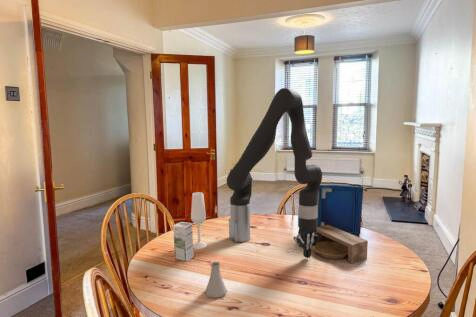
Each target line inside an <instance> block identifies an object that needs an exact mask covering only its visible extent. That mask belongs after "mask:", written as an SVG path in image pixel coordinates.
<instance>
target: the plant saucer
mask: <svg viewBox="0 0 476 317" xmlns="http://www.w3.org/2000/svg"><path fill="white" fill-rule="evenodd" d="M312 249H314V251H315V252H316V254H318V255H319V256H321V257H322V258H326V259H328V260H330V259H331V260H339V259H343V258H345V257H346V256H348V246H345V245H343V244H341V243H338V242H333V241H322V242H318V243H316V245H315V246H313V247H312Z"/></svg>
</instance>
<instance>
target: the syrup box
mask: <svg viewBox="0 0 476 317" xmlns="http://www.w3.org/2000/svg"><path fill="white" fill-rule="evenodd" d="M193 234H194V232H193V222H186V221H185V222H184V221H180V222H176V223H175V224H174V225H173V245H174V260H178V261H181V262H188V261H189V260H191V259H192V258H193V257H194V248H193V244H194V237H193Z"/></svg>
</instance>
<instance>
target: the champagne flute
mask: <svg viewBox="0 0 476 317" xmlns="http://www.w3.org/2000/svg"><path fill="white" fill-rule="evenodd" d="M191 195H192V196H191V197H192V198H191V209H190V210H191V211H190V212H191V213H190V219H191V221H192V223H193V224H195V225H196V226H197V242H195V243H193V249H197V250H198V249H200V250H201V249H204V248H206V247H207V246H208V245H207V244H206V243H205V242H203V241H201V225H202V224H203V223H205V220H206V219H207V214H206V213H207V212H206V206H205V204H206V203H205V196H204V192H201V191H200V192H199V191H198V192H197V191H196V192H193V193H192V194H191Z"/></svg>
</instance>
